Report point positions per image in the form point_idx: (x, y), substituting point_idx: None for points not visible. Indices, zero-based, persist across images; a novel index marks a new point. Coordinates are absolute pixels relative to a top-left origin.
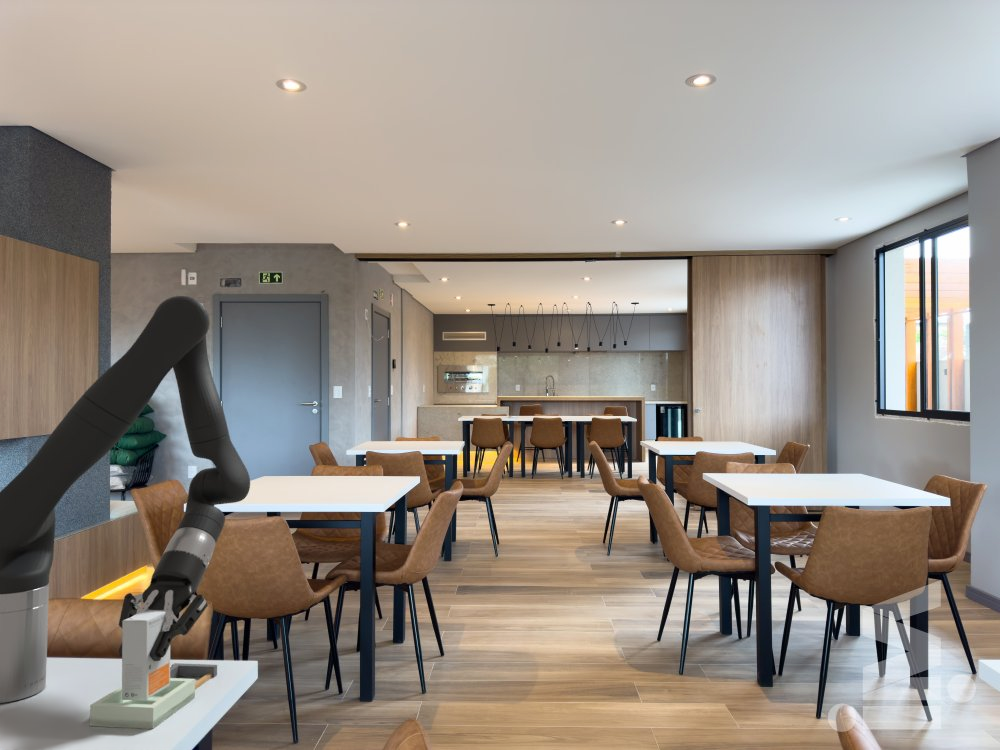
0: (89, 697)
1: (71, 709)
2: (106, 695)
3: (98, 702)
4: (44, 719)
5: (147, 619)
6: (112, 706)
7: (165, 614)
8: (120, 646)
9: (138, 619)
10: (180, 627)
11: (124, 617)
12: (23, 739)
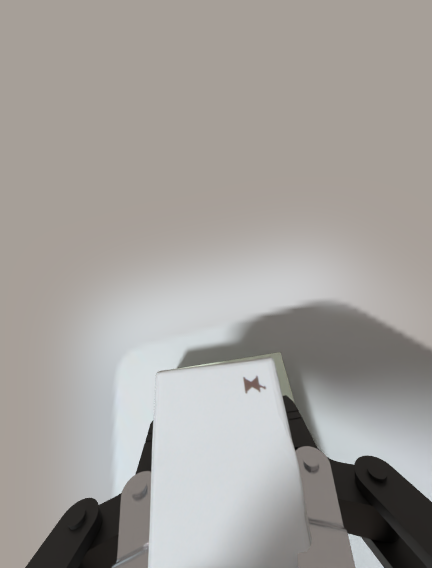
0: (411, 479)
1: (375, 409)
2: (292, 397)
3: (276, 365)
4: (371, 361)
5: (159, 385)
6: (238, 359)
7: (144, 552)
8: (295, 407)
9: (203, 376)
10: (73, 508)
11: (407, 509)
12: (323, 304)
